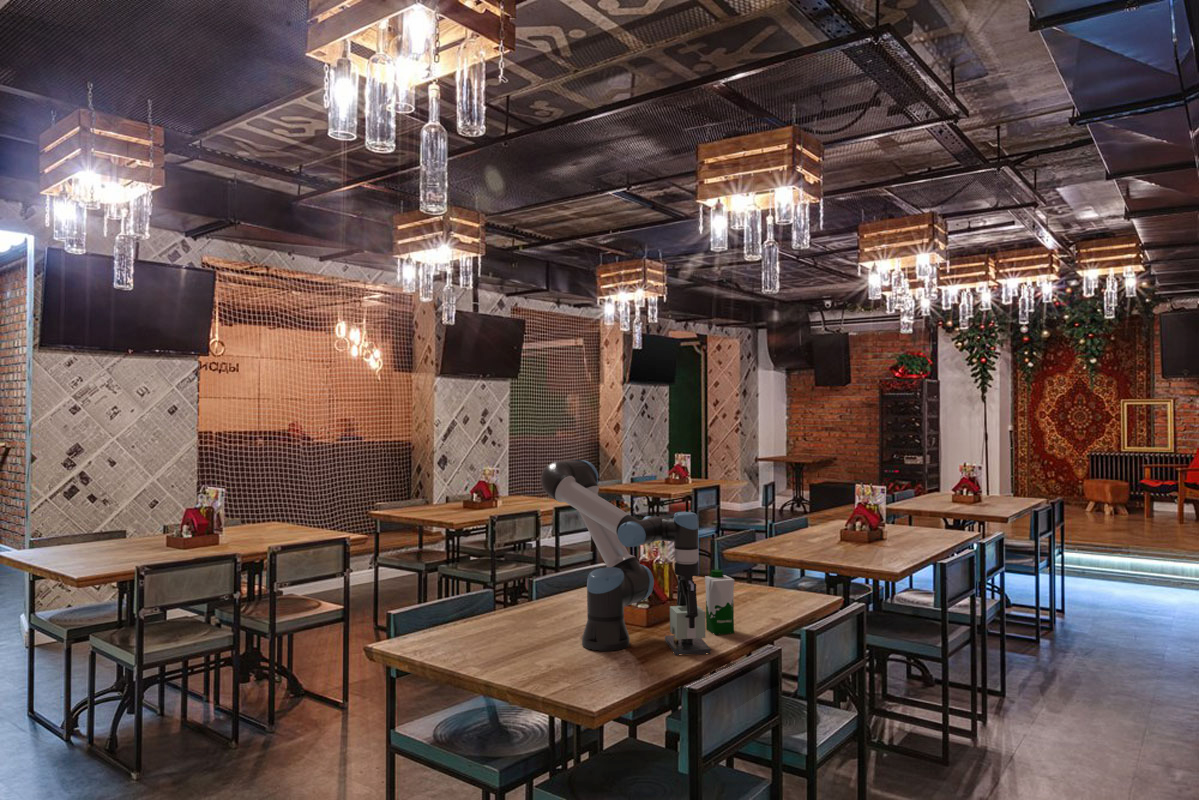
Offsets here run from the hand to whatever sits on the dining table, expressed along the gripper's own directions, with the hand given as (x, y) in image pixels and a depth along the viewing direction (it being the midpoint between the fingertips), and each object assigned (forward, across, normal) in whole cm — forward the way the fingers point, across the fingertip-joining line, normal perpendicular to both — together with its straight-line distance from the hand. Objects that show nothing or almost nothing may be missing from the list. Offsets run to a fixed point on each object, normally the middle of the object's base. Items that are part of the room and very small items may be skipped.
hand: (687, 633), depth 245 cm
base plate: (+4, 0, 0) cm, 4 cm away
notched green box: (0, 0, 0) cm, 0 cm away
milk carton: (+4, -16, +15) cm, 22 cm away
